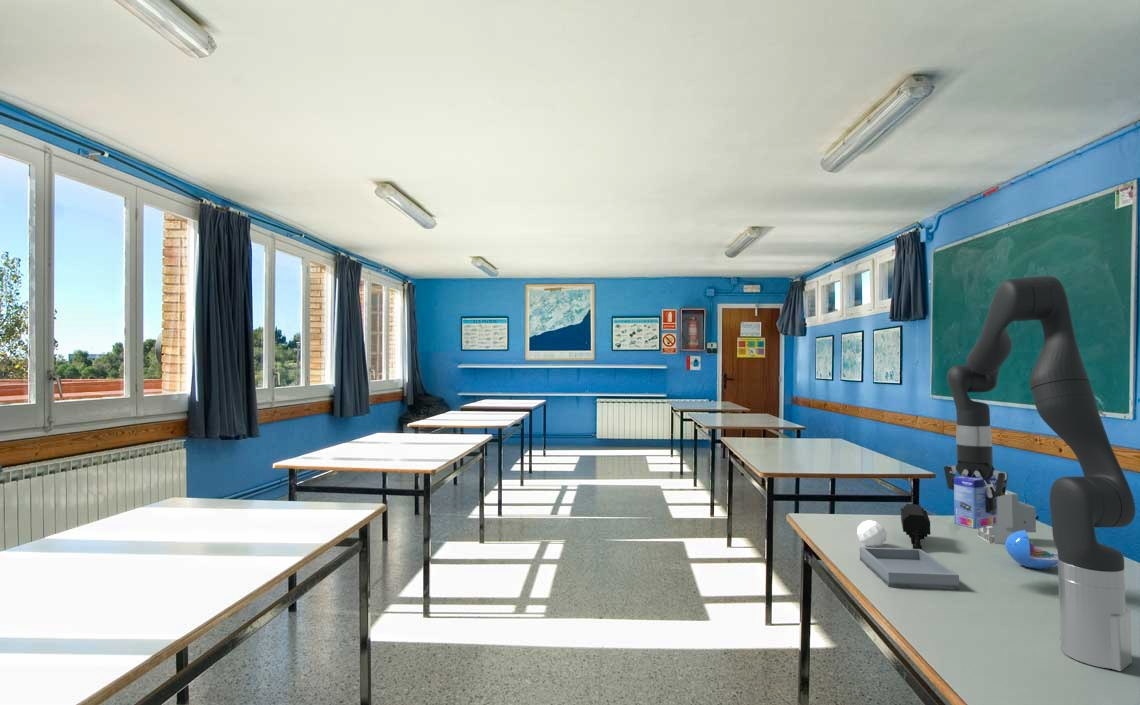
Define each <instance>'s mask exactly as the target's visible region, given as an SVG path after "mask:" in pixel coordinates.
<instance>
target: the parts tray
mask: <svg viewBox="0 0 1140 705" xmlns="http://www.w3.org/2000/svg"><path fill="white" fill-rule="evenodd" d="M859 560H860V561H861V562H862V563H863V564H864V565H865V566H866V567H867V568H868V569H869V570H870V571H872V573H873V574H875V576H877V577H878V578H879V579H880V580H881V581H882V582H883V583H884V584H885V585H887V587H888V588H889V587H890V588H910V589H912V588H913V589H914V588H915V589H933V590H935V589H936V590H937V589H938V590H957V589H959V590H960V574H958V573H957V572H955V571H954V570H952V569H951V568H949V567H948V566H947V565H945V564H943V563H942V562H940V561H939V560H938V559H936V558H934V557H933V556H931V555H930V554H929V553H927V552H926V551H924V550H923V549H922V550H921V549H913V548H900V547H899V548H897V547H896V548H894V547H893V548H892V547H870V546H867V547H865V546H859Z"/></svg>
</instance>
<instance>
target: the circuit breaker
mask: <svg viewBox="0 0 1140 705" xmlns="http://www.w3.org/2000/svg"><path fill="white" fill-rule="evenodd" d="M1036 520H1039V515H1037V514H1036V507H1035V506H1033V505H1030V504H1027V503H1025V502H1022V501H1019V494H1018V493H1017V492H1013V491H1010V490H1007V489H1006V492H1005V495H1003V496H999V497H997V525H994V526H988V527H983V528H977V529H976V531H977V534H976V536H977V537H979V538H980V539H982V540H984V541H985V542H986V543H989V544H991V543H992V544H1004V545H1005V542H1006V539H1007V538H1008V537H1009V536H1010V535H1011V534H1012V533H1014V532H1017V531H1021V530H1025V531H1026V532H1027V533H1036V532H1037V527H1036V526H1037V524H1036V522H1037V521H1036Z"/></svg>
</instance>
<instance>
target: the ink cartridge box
mask: <svg viewBox="0 0 1140 705" xmlns="http://www.w3.org/2000/svg"><path fill="white" fill-rule="evenodd" d="M978 470H979V469H976V471H978ZM974 476H975V474H973V475H972V477H970V476H967V477H966V476H961V475H959V476H958V475H957V476H955V477H954V490H953V498H954V499H953V505H954V506H953V507H954V510H953V512H954V514H953V516H954V518H953V519H954V524H955V525H957V526H962V527H966V528H969V529H973V530H977V528H979V529H981V528H983V527H988V526H994V525H997V497H996V510H994V512H992V513H988V512H987V504H986V498H987V497H988V496H987V494H986V492H985V489H984V488H983V480H982V479H979V478H975V477H974ZM990 480H991V481H992V483H993V485H994V489H995V491H996V485H997V480H996V478H995V476H992V477H991V478H990V479H989V480H988V481H986V483H987V484H990Z"/></svg>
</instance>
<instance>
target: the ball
mask: <svg viewBox="0 0 1140 705" xmlns="http://www.w3.org/2000/svg"><path fill="white" fill-rule="evenodd" d="M856 531H857V532H856V535H857V537H858V539H859V541H860V542H861V543H862V544H864V545H866V546H867V547H869V548H879V547H881V546H882V545H883V544H884V543H885V542H886V540H887V532H886V530H885V528H884V526H883V524H880V523H879V522H878V521H875V520H871V519H868V520H864V521H862V522H861V523H860V524H859V525H858V526H857V530H856Z"/></svg>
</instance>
